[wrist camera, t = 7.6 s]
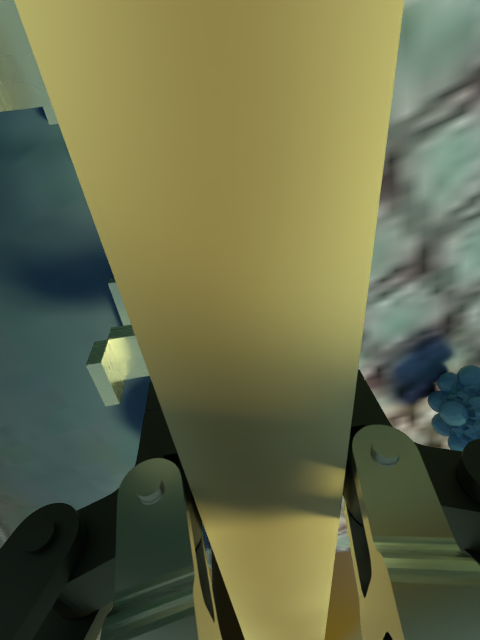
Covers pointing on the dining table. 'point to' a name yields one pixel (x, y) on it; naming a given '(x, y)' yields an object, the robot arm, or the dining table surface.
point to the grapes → (457, 407)
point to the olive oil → (224, 606)
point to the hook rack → (30, 92)
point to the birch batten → (238, 249)
